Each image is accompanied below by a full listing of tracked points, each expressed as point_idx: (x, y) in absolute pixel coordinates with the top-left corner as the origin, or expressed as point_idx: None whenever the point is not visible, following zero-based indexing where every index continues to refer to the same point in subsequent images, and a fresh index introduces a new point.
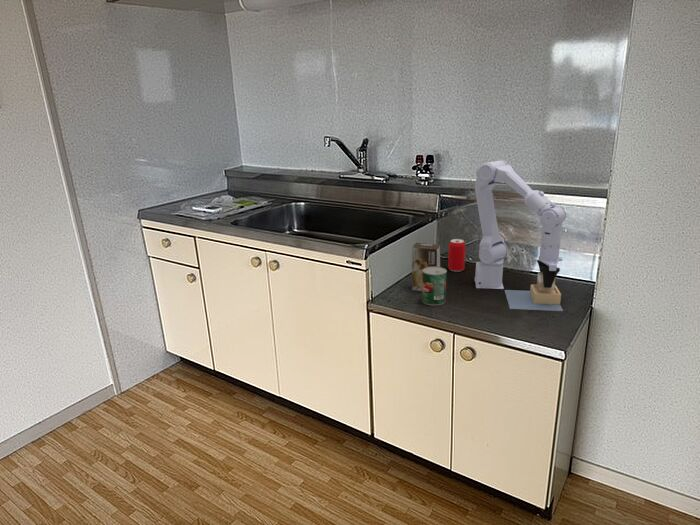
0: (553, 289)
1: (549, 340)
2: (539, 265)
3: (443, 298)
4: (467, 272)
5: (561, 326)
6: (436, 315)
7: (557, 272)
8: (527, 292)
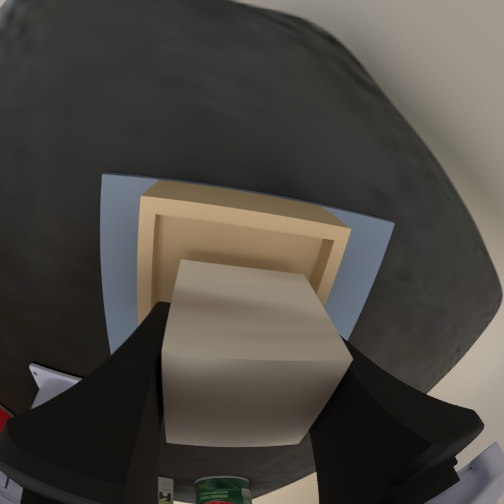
0: (303, 281)
1: (481, 319)
2: (157, 497)
3: (242, 488)
4: (6, 401)
5: (460, 271)
6: (297, 475)
7: (454, 413)
8: (129, 322)
